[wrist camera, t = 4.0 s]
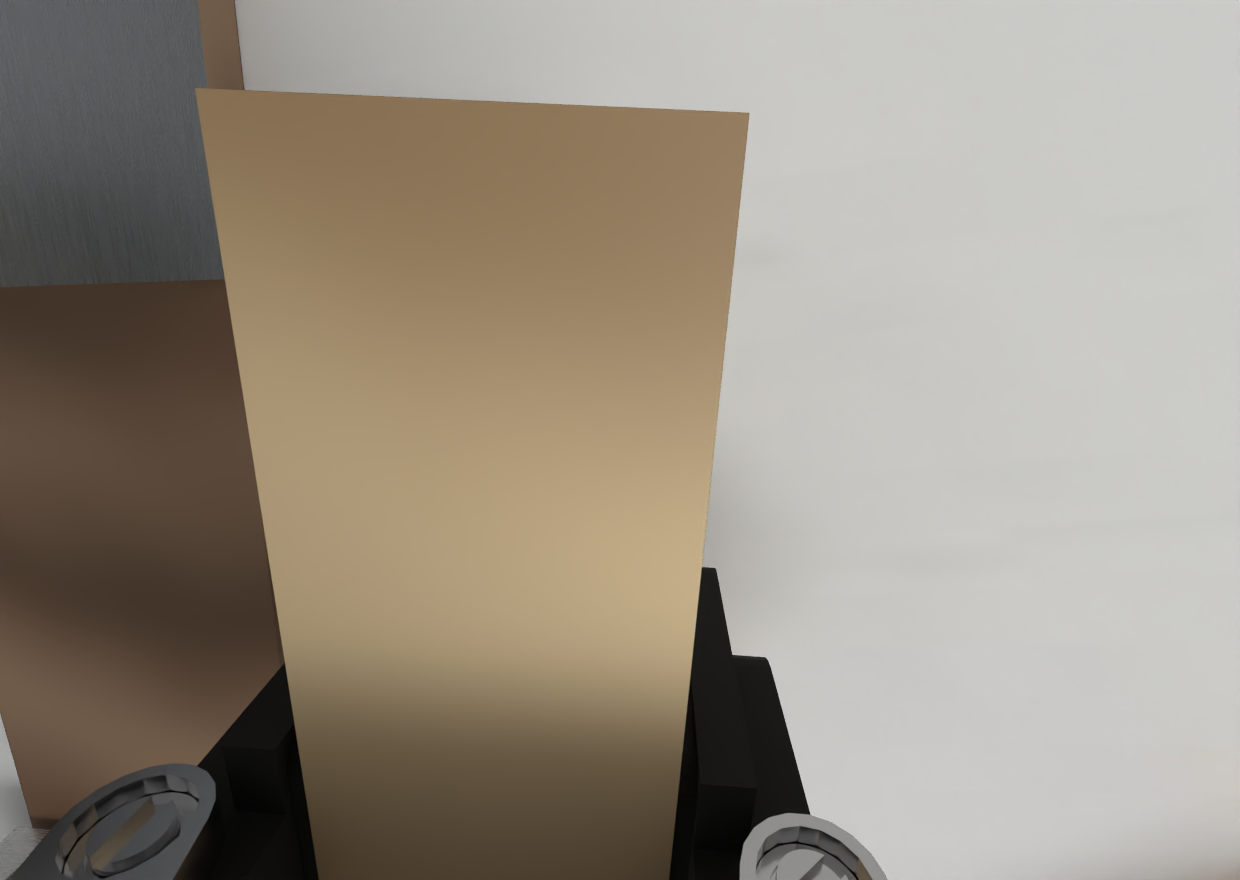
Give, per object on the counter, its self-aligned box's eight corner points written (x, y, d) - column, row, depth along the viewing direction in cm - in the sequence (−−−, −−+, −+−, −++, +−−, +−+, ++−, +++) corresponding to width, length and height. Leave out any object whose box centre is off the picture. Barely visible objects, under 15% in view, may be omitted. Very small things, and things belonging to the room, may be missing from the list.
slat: (446, 169, 9) (194, 88, 4) (694, 181, 8) (749, 113, 4) (475, 875, 13) (375, 1238, 8) (636, 889, 13) (628, 1265, 8)
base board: (-150, -58, 11) (-228, -89, 10) (228, -43, 11) (187, -74, 10) (101, 921, 18) (69, 958, 17) (337, 941, 17) (319, 980, 16)
